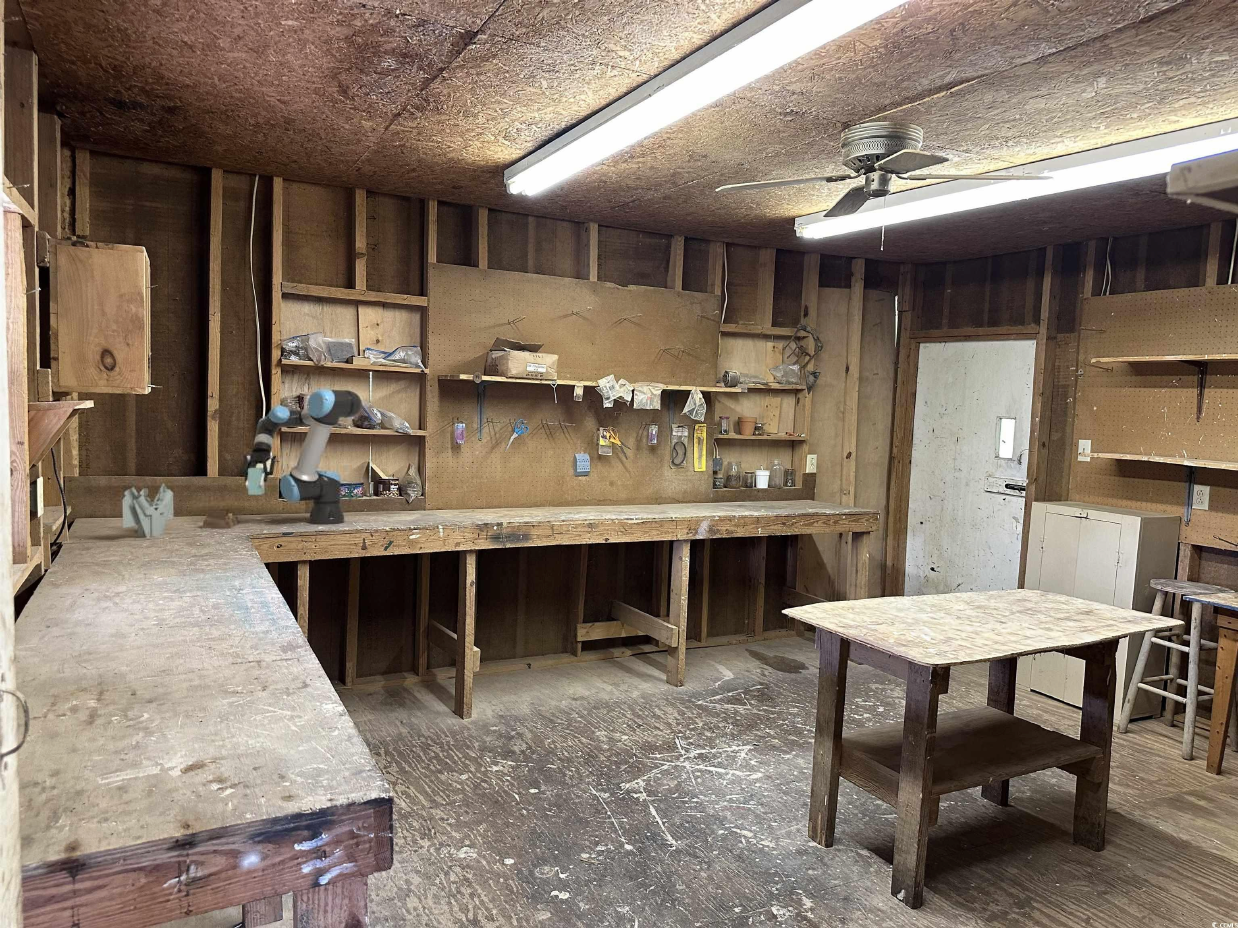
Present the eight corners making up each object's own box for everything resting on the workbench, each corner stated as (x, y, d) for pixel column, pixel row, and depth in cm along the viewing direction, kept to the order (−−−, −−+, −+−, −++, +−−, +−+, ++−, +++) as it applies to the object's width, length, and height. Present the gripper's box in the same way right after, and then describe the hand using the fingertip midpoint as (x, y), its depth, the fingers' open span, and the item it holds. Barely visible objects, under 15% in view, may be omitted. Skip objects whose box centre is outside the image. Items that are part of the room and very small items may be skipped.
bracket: (132, 541, 307) (131, 488, 306) (115, 540, 308) (114, 487, 307) (181, 531, 334) (181, 482, 333) (166, 530, 335) (165, 481, 334)
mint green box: (252, 492, 356) (252, 467, 355) (264, 492, 357) (264, 467, 356) (248, 494, 349) (248, 468, 348) (260, 494, 350) (260, 468, 349)
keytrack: (212, 523, 357) (211, 507, 357) (239, 523, 359) (238, 507, 359) (201, 528, 343) (201, 511, 342) (230, 528, 345) (230, 511, 344)
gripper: (285, 452, 368) (278, 492, 353) (242, 452, 365) (233, 492, 350) (283, 441, 363) (275, 481, 348) (239, 440, 359) (229, 481, 344)
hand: (254, 486), depth 349 cm, fingers closed on mint green box, 5 cm apart
